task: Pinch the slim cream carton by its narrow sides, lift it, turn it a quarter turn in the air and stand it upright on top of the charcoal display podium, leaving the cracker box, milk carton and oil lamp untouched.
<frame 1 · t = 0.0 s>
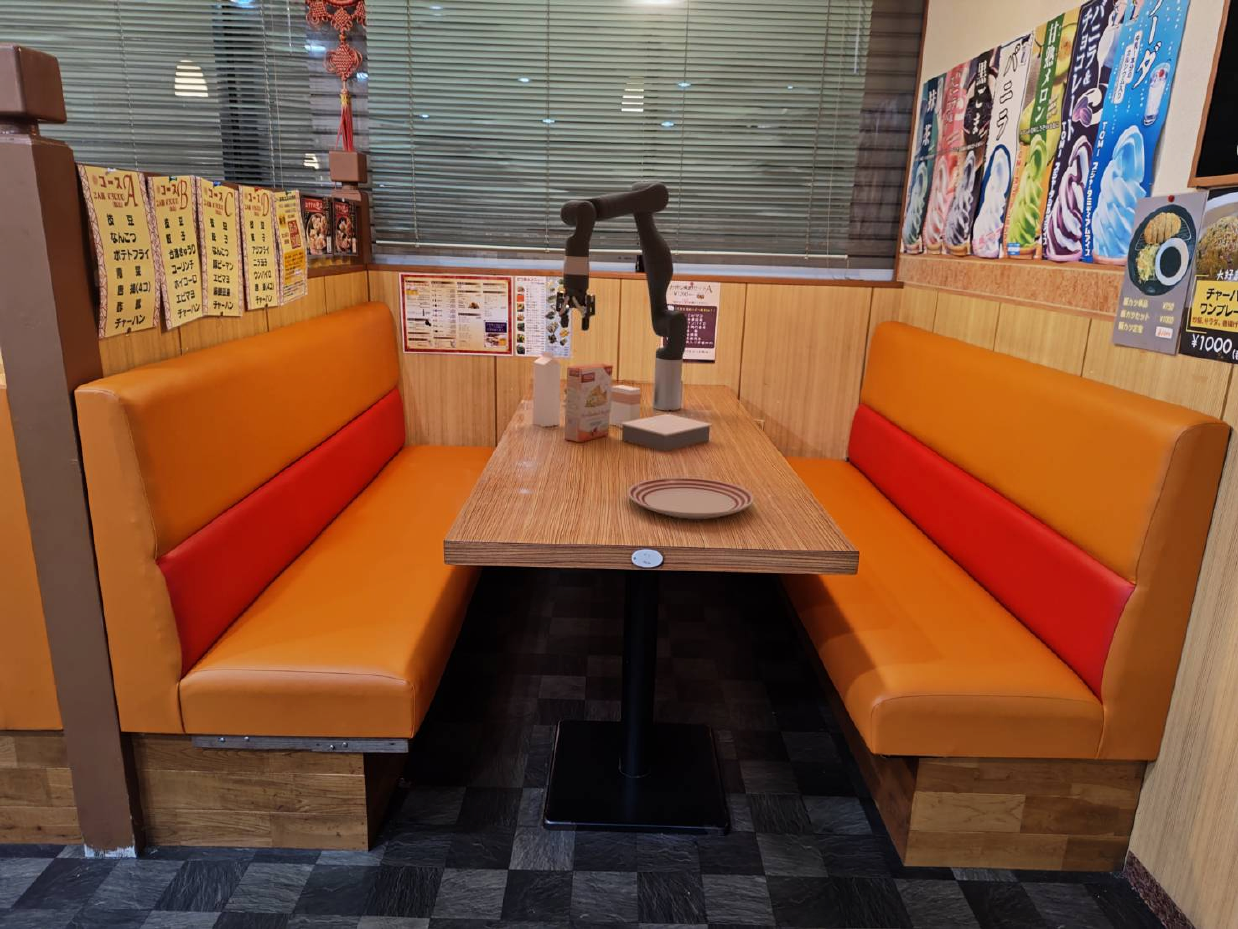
hand: (574, 328, 242), 29 cm above the table, tool pointing down, fingers open, 8 cm apart
display podium: (665, 440, 237), on the table
dinner plate: (689, 507, 180), on the table
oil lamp: (596, 402, 288), on the table
cream carton: (624, 426, 253), on the table
cracker box: (587, 438, 236), on the table
milk: (545, 424, 251), on the table
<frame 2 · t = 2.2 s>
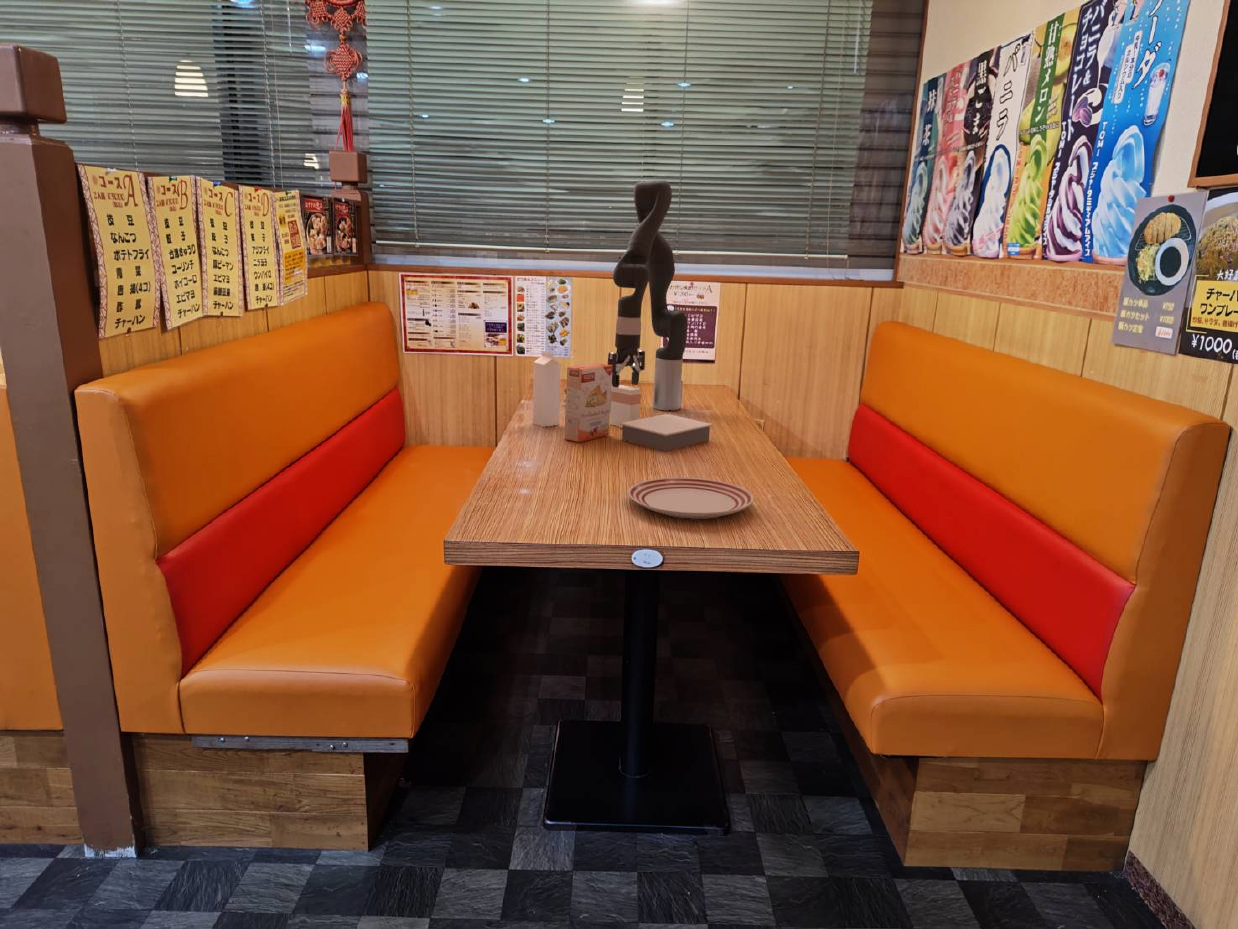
hand: (625, 385, 250), 13 cm above the table, tool pointing down, fingers open, 8 cm apart
nothing on the table moved.
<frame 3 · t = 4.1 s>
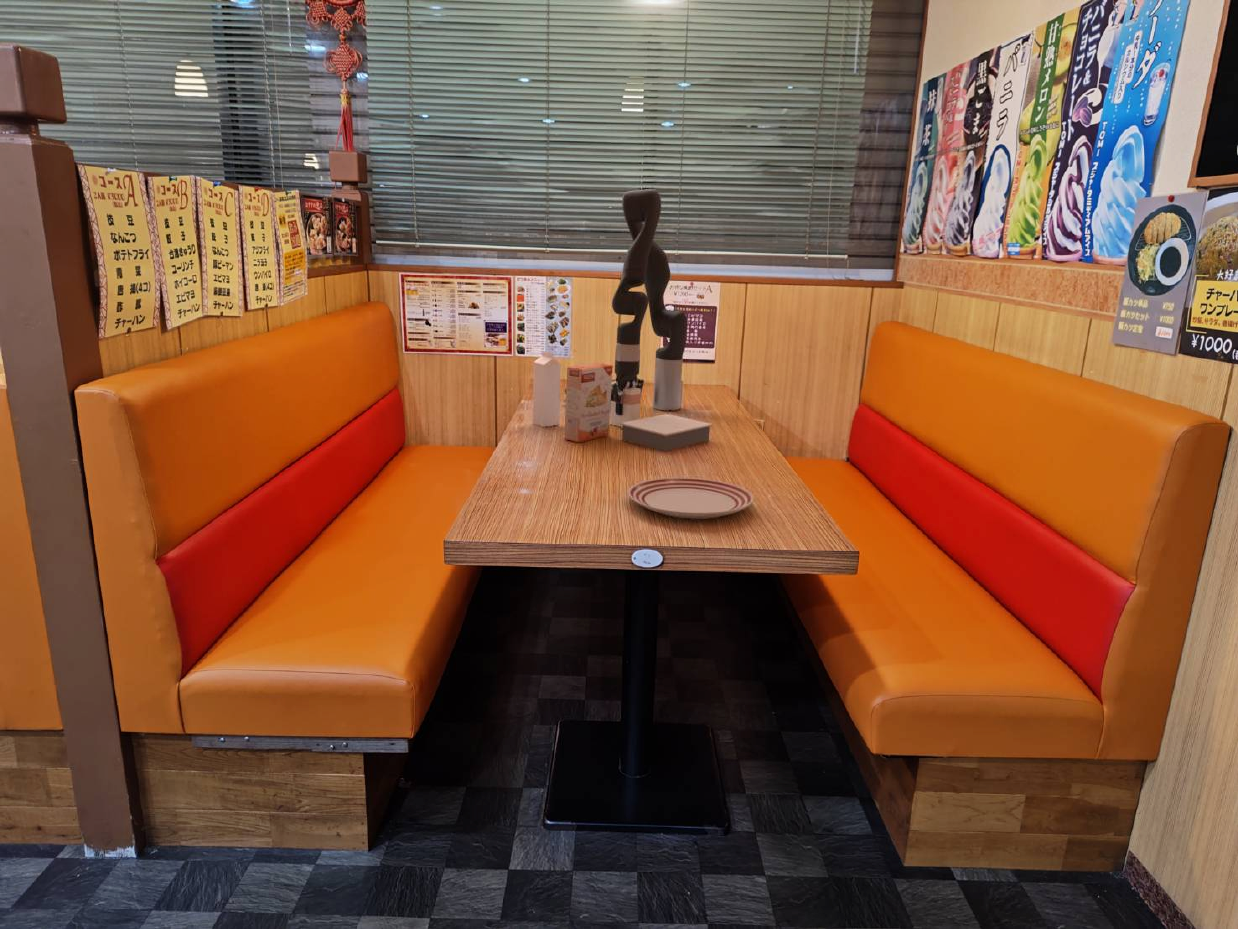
hand: (624, 413, 252), 4 cm above the table, tool pointing down, fingers closed on cream carton, 4 cm apart
cream carton: (624, 425, 253), on the table, touching gripper
everything else where it was.
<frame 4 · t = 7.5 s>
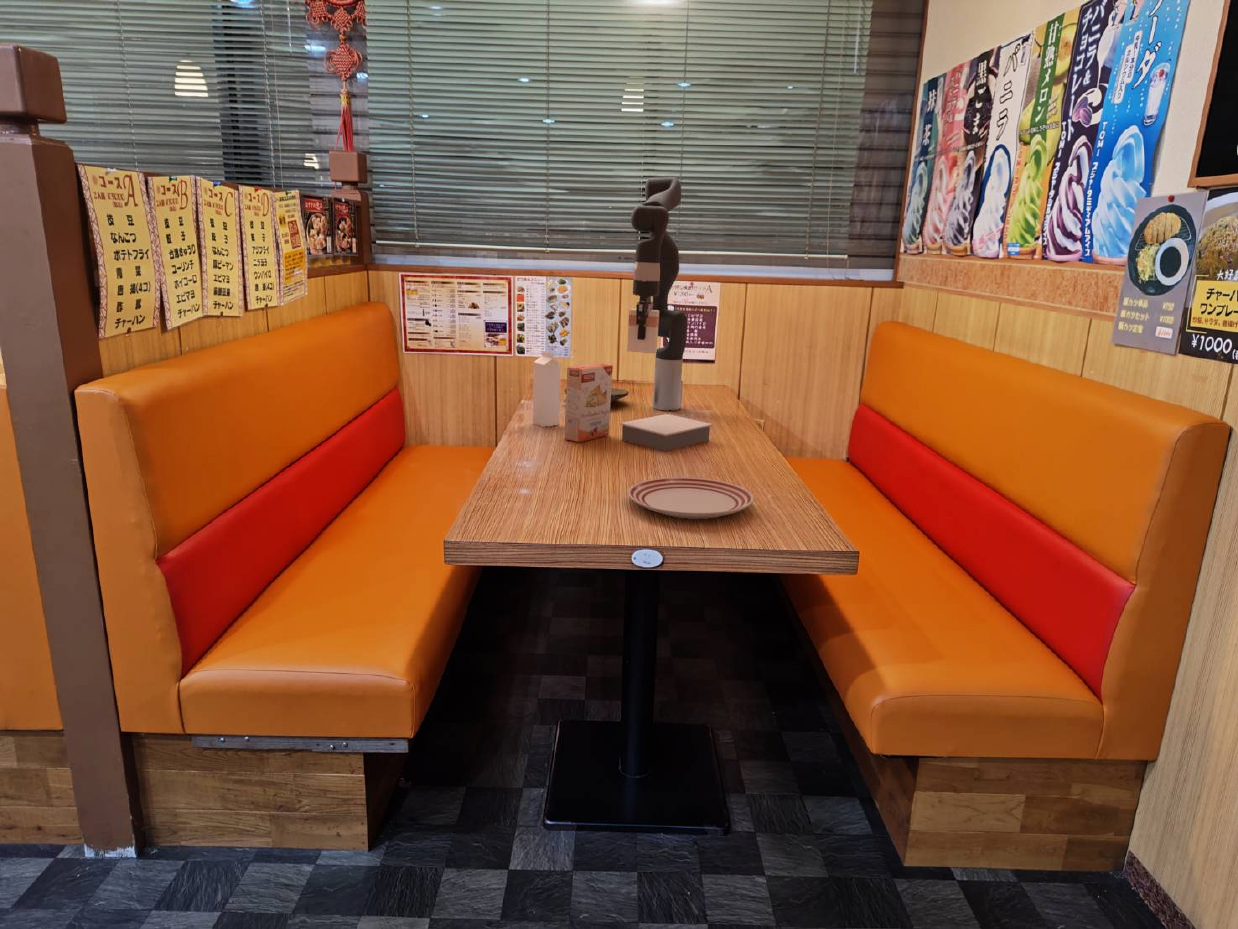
hand: (642, 338, 240), 28 cm above the table, tool pointing down, fingers closed on cream carton, 4 cm apart
cream carton: (641, 351, 241), point 24 cm above the table, touching gripper
everything else where it was.
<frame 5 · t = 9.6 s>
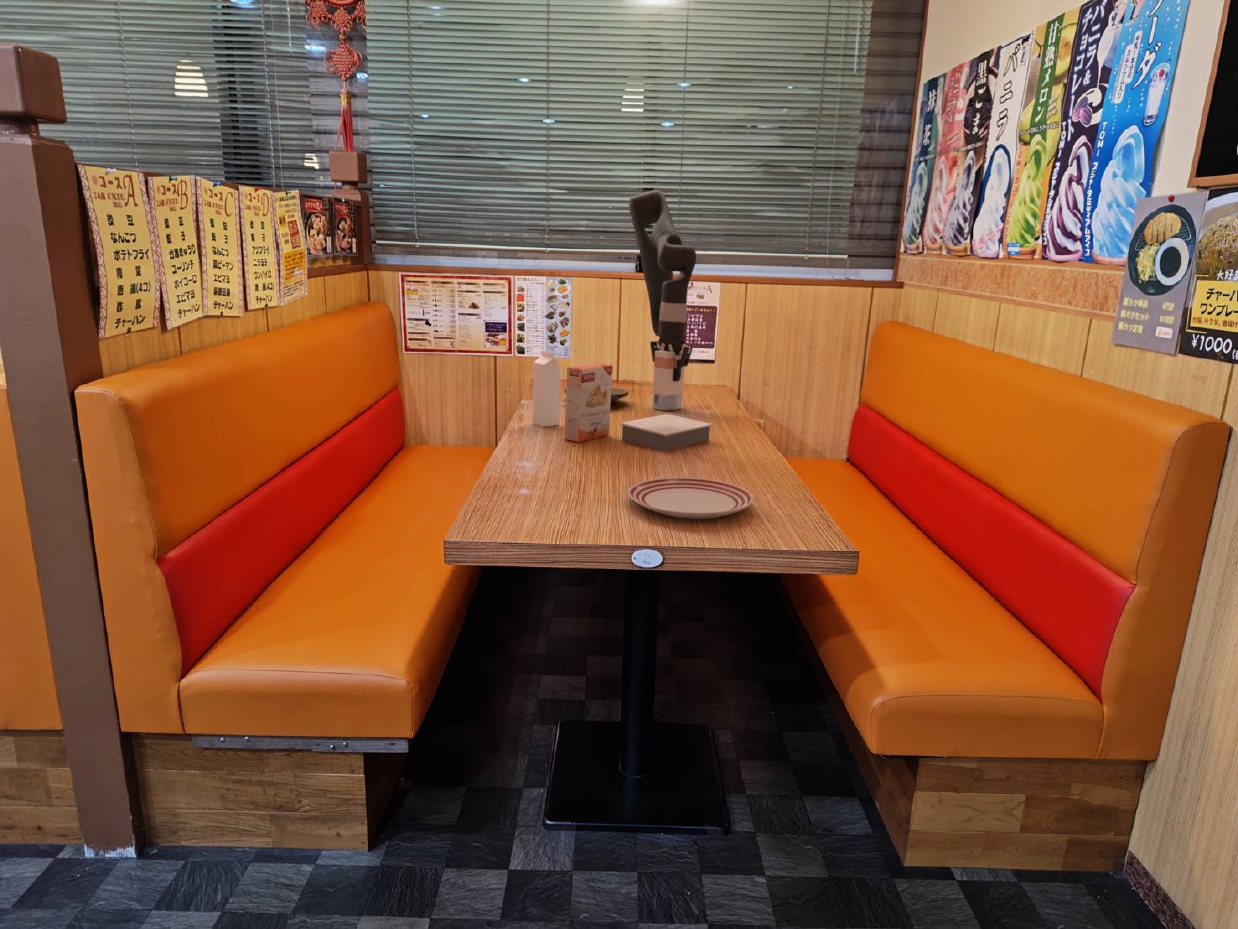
hand: (668, 379, 232), 18 cm above the table, tool pointing down, fingers closed on cream carton, 4 cm apart
cream carton: (667, 393, 233), point 14 cm above the table, touching gripper
everything else where it was.
when the fingers open (10 cm above the table, at t = 11.3 s): cream carton drops 1 cm, resting on display podium.
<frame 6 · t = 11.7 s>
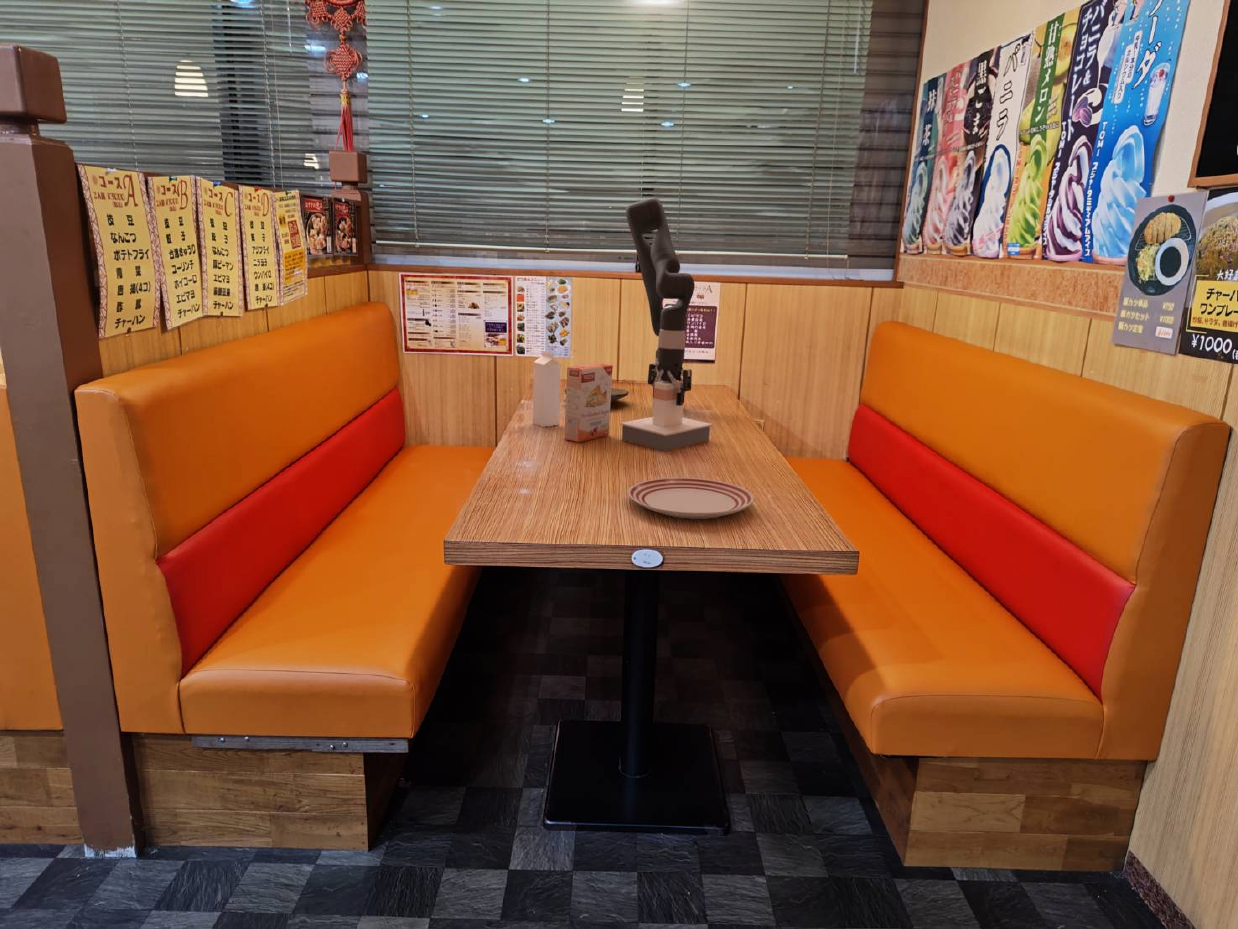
hand: (668, 402, 234), 11 cm above the table, tool pointing down, fingers open, 8 cm apart
cream carton: (667, 423, 236), point 5 cm above the table, touching display podium
everything else where it was.
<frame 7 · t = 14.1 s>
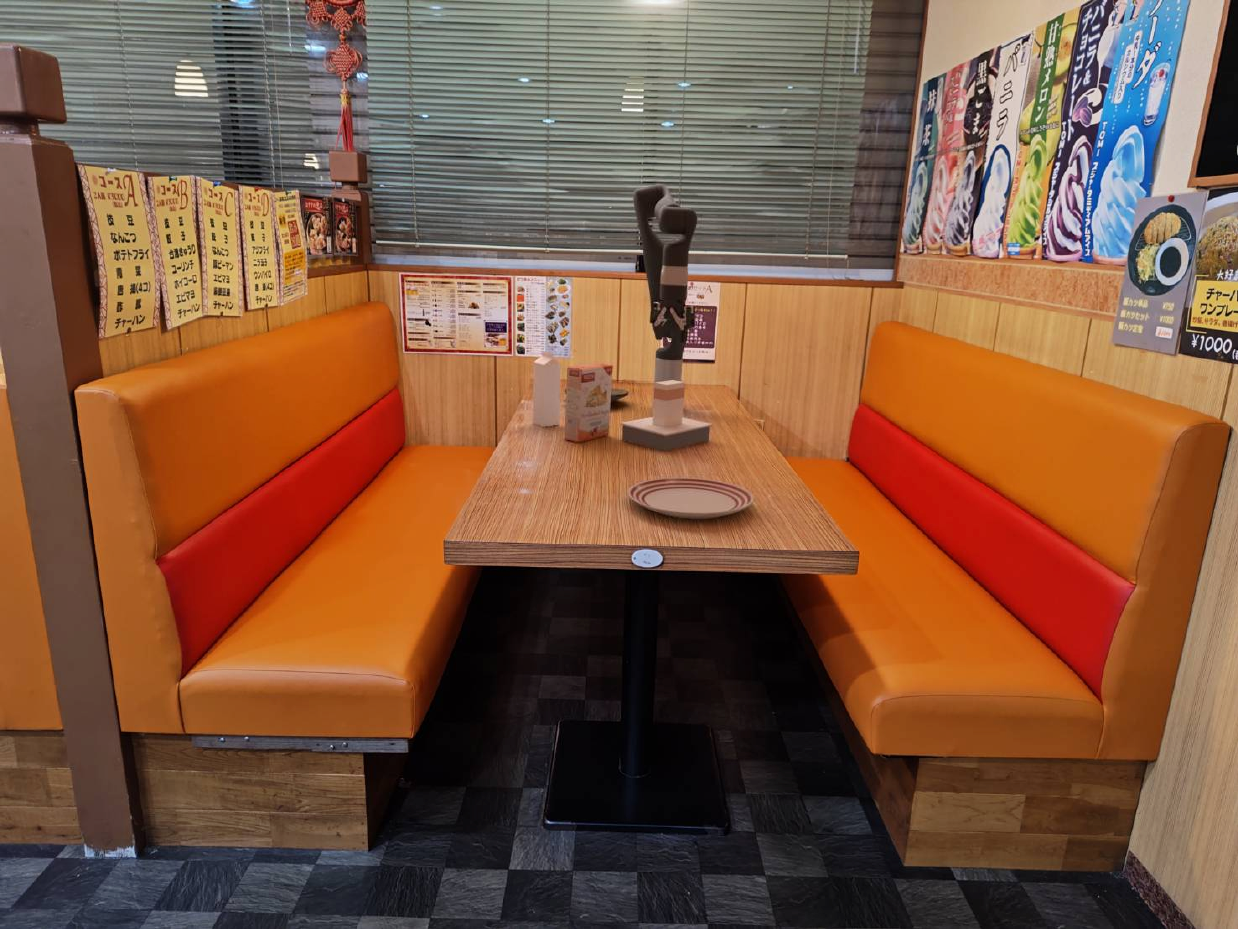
hand: (670, 341, 231), 28 cm above the table, tool pointing down, fingers open, 8 cm apart
nothing on the table moved.
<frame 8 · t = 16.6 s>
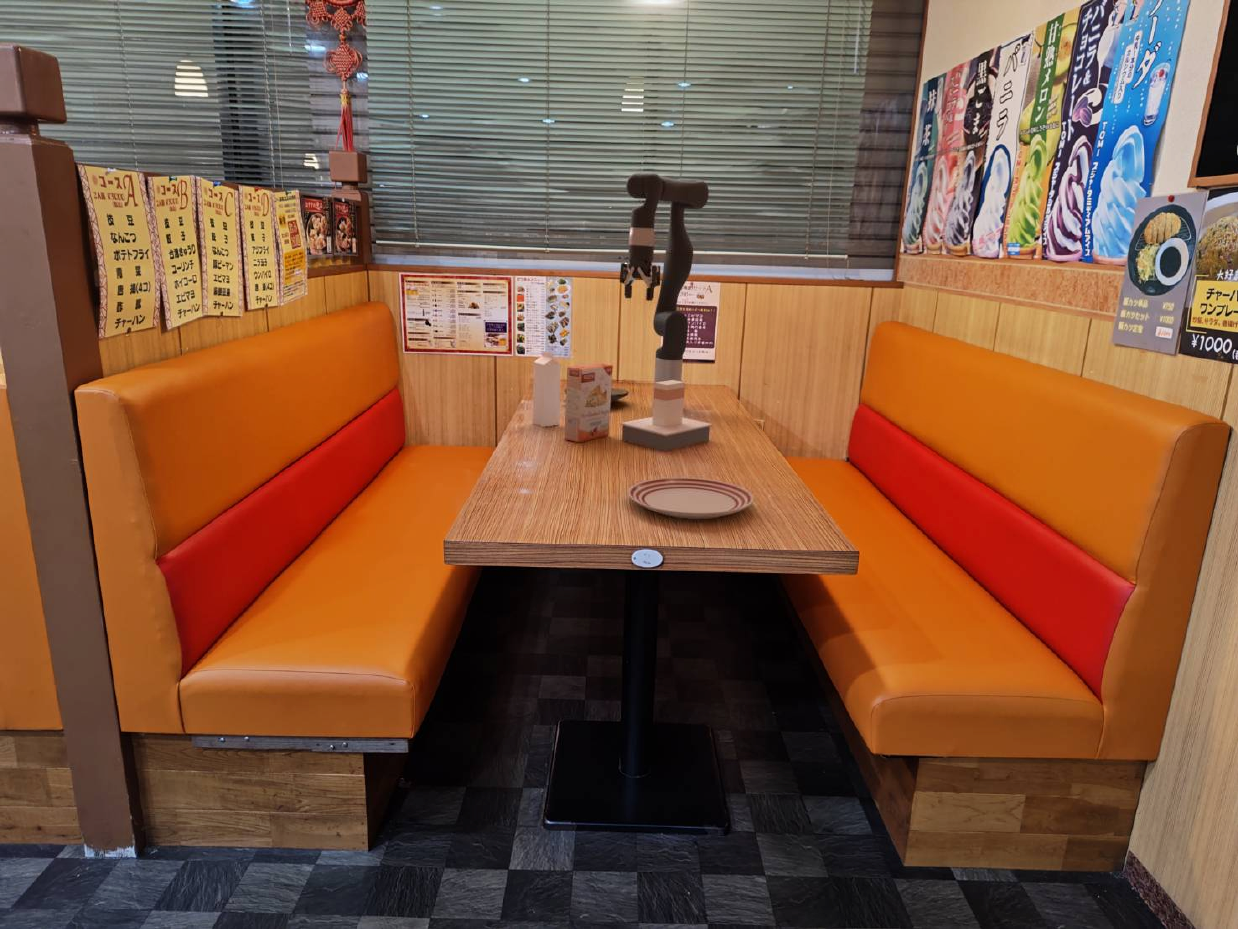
hand: (638, 299, 248), 38 cm above the table, tool pointing down, fingers open, 8 cm apart
nothing on the table moved.
at the end: cream carton inside the target area on the display podium (0.3 cm from its centre), point 5.0 cm above the display podium's base; cream carton tilted 0°; the gripper is holding nothing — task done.
